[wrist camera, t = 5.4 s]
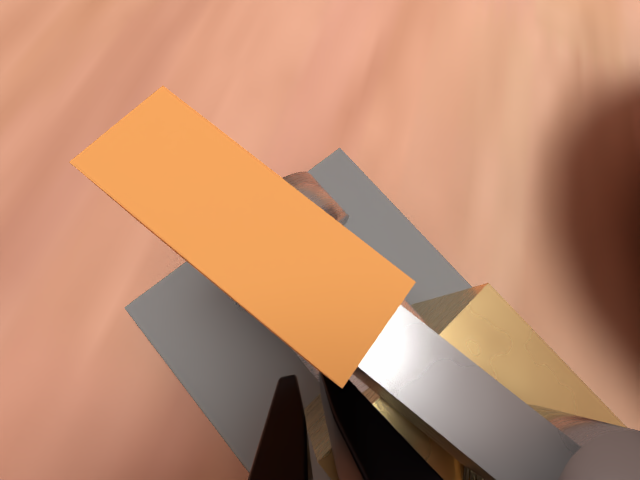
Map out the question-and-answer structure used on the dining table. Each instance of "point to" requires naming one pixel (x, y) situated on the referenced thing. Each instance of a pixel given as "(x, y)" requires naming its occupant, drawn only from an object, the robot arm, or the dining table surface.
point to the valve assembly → (281, 360)
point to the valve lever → (333, 296)
